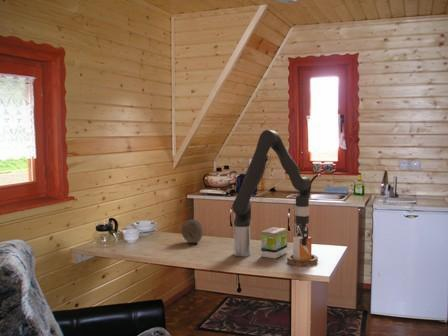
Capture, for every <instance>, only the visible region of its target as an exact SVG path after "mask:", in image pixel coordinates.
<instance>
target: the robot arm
mask: <svg viewBox="0 0 448 336" xmlns="http://www.w3.org/2000/svg"><path fill="white" fill-rule="evenodd" d="M270 149H272V150H273V152H275V154H276V155H277V157H278V159H279V163H280V165H281V167H282V168H283V170H284V171H285V173H286V174H287V175H288V177H289V180H290V182H291V185H292V187H293V188H294V190H295V191H298V194H297V195H296V196H295V208H294V222H295V224H296V225H295V233H296V235H297V236H296V237H298V236H302V245H303V246H306V239H307V238H308V237H309V227H308V226H307V224H309V223H310V206H309V205H310V200H309V199H310V195H311V192H312V191H311V190H312V182H311V181H312V180H311V179H310V178H309V177H307V176H302V175H301V174H300V173H301V169H300V168H299V166H298V165H297V163H296V162H295V161H294V158H292V156H291V154H290V153H289V152H288V150H287V148H286V146H285V144H284V142H283V140H282V138H281V136H280V135H279V133H278V132H277V131H275V130H271V129H265V130H263V131H262V132H261V133H260V135H259V138H258V141H257V144H256V147H255V150H254V154H253V156H252V157H251V160H250V163H249V165H248V167H247V170H246V171H245V172H246V173H245V175H244V178H243V181H242V183H241V186H240V189H239V191H238V193H237V195H236V197H235V198H234V201H233V203H232V205H231V206H232V207H231V208H232V211H233V213H234V215H235V217H234V220H233V255H234V256H235V257H240V258H241V257H249V256H251V220H252V203H251V197H252V196H253V193H254V192H255V190H256V189H257V187H258V185H259V184H260V183H261V180H262V179H263V178H262V177H263V176H264V173H265V171H266V160H267V155H268V153H269V151H270Z"/></svg>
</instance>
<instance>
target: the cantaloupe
mask: <svg viewBox="0 0 448 336" xmlns="http://www.w3.org/2000/svg"><path fill="white" fill-rule="evenodd" d="M181 226H182V227H181V235H182V237H183V239H184V241H186V242H187V243H189V244H198V243H200V241H201V240H202V237H203V233H204V229H203V226H202V224H201V222H200V221H199V220H196V219H189V220H186V221H185V222H183V224H182V225H181Z"/></svg>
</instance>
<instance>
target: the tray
mask: <svg viewBox="0 0 448 336" xmlns="http://www.w3.org/2000/svg"><path fill="white" fill-rule="evenodd" d="M318 259H319V257H318V256H317V255H315V254H312V253H311V260H295V259H293V253H290V254H289V255H287V256H286V261H287V264H288V265H291V266H296V267H312V266H316V265H317V264H318Z"/></svg>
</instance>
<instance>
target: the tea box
mask: <svg viewBox="0 0 448 336" xmlns="http://www.w3.org/2000/svg"><path fill="white" fill-rule="evenodd" d="M260 241H261V242H260V249H261V250H260V257H262V258H267V259H268V258H270V259H276V260H277V258H279V257H281V256H283V255H285V254H286V255H287V253H288V228H285V227H284V228H283V227H276V226H275V227H274V226H272V227H270V228H267V229H264V230H262V231H261V238H260Z"/></svg>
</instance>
